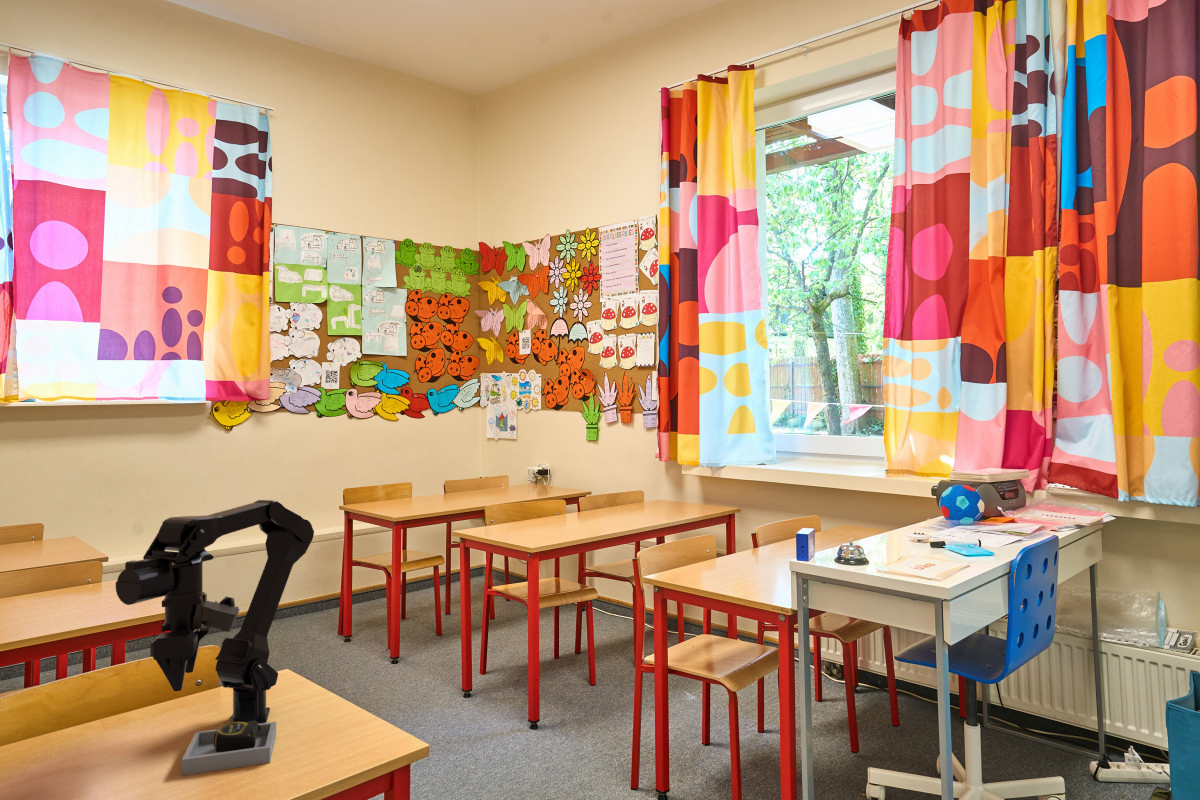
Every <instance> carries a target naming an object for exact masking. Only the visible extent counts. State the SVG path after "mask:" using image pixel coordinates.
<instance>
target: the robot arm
mask: <svg viewBox="0 0 1200 800" xmlns="http://www.w3.org/2000/svg"><path fill="white" fill-rule="evenodd" d="M161 523H162V524H161V526H160V527H159V529H158V532H157V534H156V535H155V537H154V538H153V541H152V542H151V544H150V545H149V547H148V549H147V550H146V552H145V553H144V555H143V557H142V559H140V560H129V561H125V563H124V565H125V566H124V568H125V569H123V570H122V571H121V572H120V573H119V575H118V577H117V580H116V581H115V592H116V595H117V597H118V599H119V600H120V602H122V603H123V604H125V605H127V606H131V605H135V604H138V603H144V602H147V601H150V600H153V599H158V598H162V597H164V599H162V600H161V608H164V622H163V624H162V625H161V633H160V634H159V635H158V636H157V637H156V638H155V639H154V640H153V641H152V642H151V643H150V645H149V646H150V652H149V653H150V655H149V657H150V658H151V657H152V658H153V660H155V661H156V663H157V665H158V666H159V668H160V669H161V671H162V672H163V674H164V676H165V678H166V679H167V682H168V684H169V685H170V687H171V689H172V690H173V691H174V692H181V691H182V690H183V687H184V685H183V684H184V682H185V681H184V680H185V675H186V674H189V673H191V674H192V673H193V672H194V669H195V666H196V662H197V661H196V660H197V658H198V657H197V656H198V652H199V650H200V649H199V648H200V644H201V640H202V639H203V638H204V637H205V636H206V635H208V633H209V632H210V630H211V628H213V629H219V630H220V631H222V632H226V633H227V632H231V631H232V629H233V628H234V625H235V623H236V620H237V617H238V614H239V613H240V608H239V606H236V605H235V604H236V603H235V598H234V597H230V596H225V597H223V599H222V600H220V601H219V602H218V601H216V600H215V601H210V600H208V594H207V593H206V592H205V591H203V589H204V588H203V586H204V585H203V582H204V581H203V580H204V579H203V578H204V577H203V574H204V573H203V567H204V566H203V562H208V561H211V560H213V559H214V558H215V557H214V555H213V554H211V553H210V552H208V551H207V550H206V548H207V547H210V546H211V545H214V543H215V542H216V541H217V540H218V539H219V538H221V537H223V536H225V535H228V534H229V535H230V534H232V533H235V532H239V531H242V530H245V529H248V528H251V527H254V526H258V527H259V529H260V531H261V532H262V533H264V534H265V535H266V538H265V539H266V540H265V549H266V550H265V551H266V554H267V560H266V563H265V565H264V567H263V570H262V573H261V575H260V577H259V580H258V583H257V585H256V589H255V590H254V594H253V596H252V599H251V601H250V604H249V607H248V610H247V611H246V614H245V617H244V620H243V622H242V625H241V627H240V629H239V631H238V632H237V633H236V634H235V635H234V636H233V637H232V638H231V637H225V638H224V639H223V641H222V642H221V646H220V651H219V653H218V654H217V656H216V657H215V658H214V659H215V660H216V664H215V672H216V674H217V677H218V678H219V679H220V681H221V685H222V687H223V688H225V689H226V688H228V689H232V714H231V717H230V719H229V722H228V724H229V723H233V722H249V721H257V722H258V724H261V723H268V718H269V715H270V712H271V710H270V709H271V708H270V707H267V691H269V690H271V688H272V687H274V686H276V684H277V680H278V679H279V678H278V677H279V672H278V671H276V670H275V669H274V668H273V667H272V666H271V665H269V664H268V661H269V656H270V647H269V642H268V634H269V632H270V629H271V627H272V624H273V621H274V618H275V617H276V612H277V610H278V607H279V604H280V601H281V599H282V596H283V593H284V592H285V587H286V585H287V582H288V581H289V577H290V575H291V572H292V569H293V566H294V565H295V564H296V563H297V561H299V560H300V559H301V558H302V557H303V556H304V555H305V554H306V553H307V551H308V549H309V547H310V545H311V543H312V542H313V538H314V535H315V530H314V528H313V525H312V523H311V522H310V520H308V519H304V517H302V516H301V515H299V514H297V513H296V512H293V511H292V510H290V509H288V508H286V507H285V506H284V505H283V504H281V502H279V501H277V500H271V499H257V500H256V501H254V502H252V503H248V504H243V505H241V506H237V507H234V508H233V507H232V508H230V509H226V510H222V511H219V512H214V513H212V514H208V515H186V516H184V515H183V516H172V517H168V518H166V519H165V520H163V521H162V522H161ZM203 626H204V627H203Z"/></svg>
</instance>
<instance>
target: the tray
mask: <svg viewBox="0 0 1200 800" xmlns="http://www.w3.org/2000/svg"><path fill="white" fill-rule="evenodd" d="M259 725H261V726H260V731H258V733H257V738H256V743H255V747H254V748H249V749H242V750H235V751H227V752H220V753H218V752H216V750H215V748H214V735H215V733H216V731H217V730H218V729H219V728H216V729H209V730H200V731H199V730H198V731H195V732H194V734H193V736H192V738H191V741H190V743H189V744H188V746H187V749H186V750H185V752H184V754H183V756H182V758H181V776H189V775H195V774H202V773H208V772H214V771H215V772H216V771H222V770H230V769H235V768H245V767H251V766H256V765H262V764H270V763H271V759H272V755H273V752H274V751H273V750H274V746H275V742H276V738H277V721H267V722H265V723H258V726H259Z"/></svg>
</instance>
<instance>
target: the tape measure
mask: <svg viewBox="0 0 1200 800" xmlns="http://www.w3.org/2000/svg"><path fill="white" fill-rule="evenodd" d="M258 724H259V723H258V722H257V721H249V722H233V723H229V722H228V723H226V724H224V725H222V726H220V727H219V728H217V729H218V730H217V731H216V733H215V735H214V748H215V750H216V752H218V753H220V752H227V751H235V750H242V749H249V748H254V747H255V743H256V738H257V733H258V731H260V726H261V725H259V726H258Z"/></svg>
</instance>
